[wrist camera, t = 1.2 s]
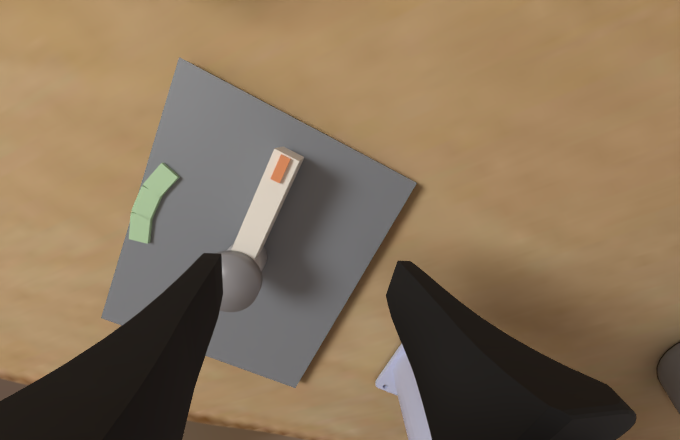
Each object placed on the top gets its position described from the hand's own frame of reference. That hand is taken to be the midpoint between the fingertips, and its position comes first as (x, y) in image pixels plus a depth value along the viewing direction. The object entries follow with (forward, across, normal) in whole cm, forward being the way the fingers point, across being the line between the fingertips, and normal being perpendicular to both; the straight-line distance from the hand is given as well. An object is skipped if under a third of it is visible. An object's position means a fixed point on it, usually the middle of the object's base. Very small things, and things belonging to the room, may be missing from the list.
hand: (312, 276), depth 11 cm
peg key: (+10, +2, +3) cm, 11 cm away
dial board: (+11, +4, +7) cm, 13 cm away
